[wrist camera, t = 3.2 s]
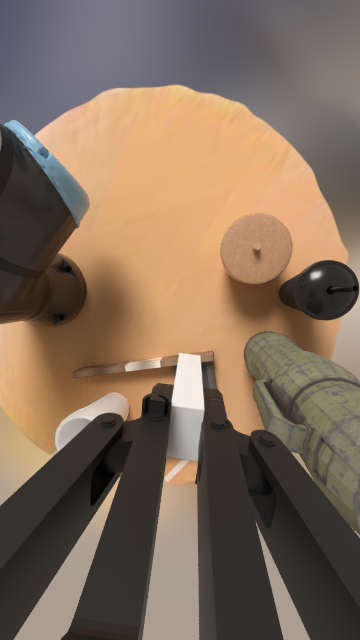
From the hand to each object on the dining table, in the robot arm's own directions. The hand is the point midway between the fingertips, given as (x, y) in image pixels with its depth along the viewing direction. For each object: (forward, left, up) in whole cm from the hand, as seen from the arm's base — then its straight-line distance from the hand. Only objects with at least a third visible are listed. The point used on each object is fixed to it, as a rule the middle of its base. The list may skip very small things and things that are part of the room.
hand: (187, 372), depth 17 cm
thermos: (+13, -3, -31) cm, 33 cm away
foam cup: (-15, -21, -31) cm, 40 cm away
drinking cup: (+15, +9, -31) cm, 35 cm away
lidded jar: (+6, +14, -31) cm, 34 cm away
